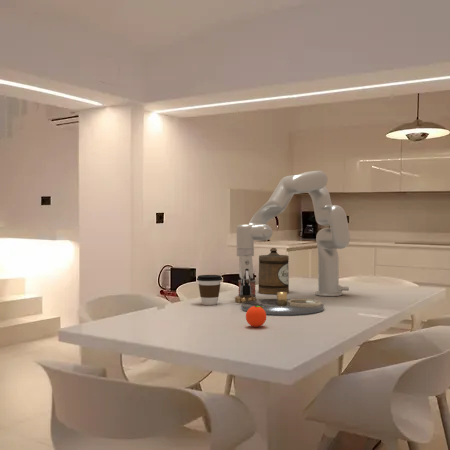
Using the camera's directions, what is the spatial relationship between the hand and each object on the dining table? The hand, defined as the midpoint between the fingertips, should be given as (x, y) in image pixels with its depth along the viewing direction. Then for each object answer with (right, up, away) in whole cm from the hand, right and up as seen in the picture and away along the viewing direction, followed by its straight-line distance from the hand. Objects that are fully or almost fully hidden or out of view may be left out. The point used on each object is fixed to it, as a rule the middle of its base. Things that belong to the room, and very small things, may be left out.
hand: (245, 293), depth 238 cm
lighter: (+1, -4, +16) cm, 17 cm away
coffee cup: (-16, -4, -6) cm, 17 cm away
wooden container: (+15, -3, +30) cm, 33 cm away
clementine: (+2, -4, -55) cm, 55 cm away
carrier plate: (+14, -4, -19) cm, 24 cm away
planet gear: (0, -3, 0) cm, 3 cm away
